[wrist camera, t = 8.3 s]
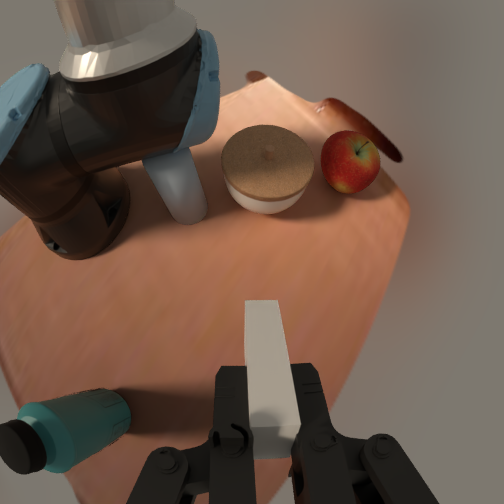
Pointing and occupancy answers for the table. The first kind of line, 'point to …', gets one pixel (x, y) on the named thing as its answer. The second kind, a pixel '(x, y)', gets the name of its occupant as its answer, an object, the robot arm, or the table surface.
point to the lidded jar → (266, 168)
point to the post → (178, 185)
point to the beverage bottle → (63, 431)
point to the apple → (349, 161)
